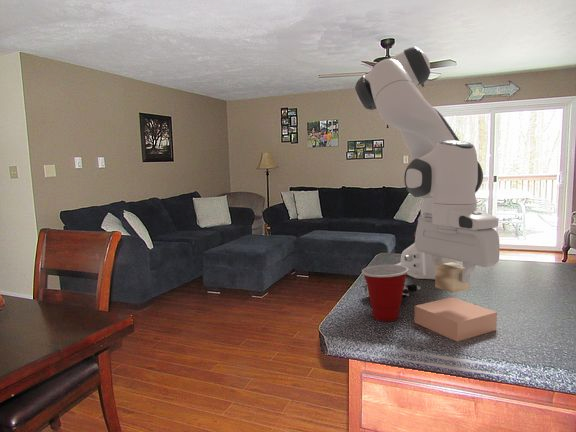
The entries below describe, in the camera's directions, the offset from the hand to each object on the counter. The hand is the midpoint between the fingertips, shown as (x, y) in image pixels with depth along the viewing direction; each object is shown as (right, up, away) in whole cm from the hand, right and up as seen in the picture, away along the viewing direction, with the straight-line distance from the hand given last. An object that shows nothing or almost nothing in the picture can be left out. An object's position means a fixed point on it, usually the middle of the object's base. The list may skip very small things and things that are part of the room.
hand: (452, 278), depth 91 cm
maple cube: (0, -2, 0) cm, 2 cm away
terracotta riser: (+1, -11, +1) cm, 11 cm away
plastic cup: (-13, -11, +8) cm, 18 cm away
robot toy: (-8, -9, +22) cm, 25 cm away
